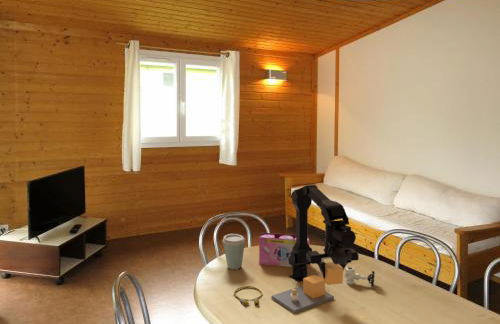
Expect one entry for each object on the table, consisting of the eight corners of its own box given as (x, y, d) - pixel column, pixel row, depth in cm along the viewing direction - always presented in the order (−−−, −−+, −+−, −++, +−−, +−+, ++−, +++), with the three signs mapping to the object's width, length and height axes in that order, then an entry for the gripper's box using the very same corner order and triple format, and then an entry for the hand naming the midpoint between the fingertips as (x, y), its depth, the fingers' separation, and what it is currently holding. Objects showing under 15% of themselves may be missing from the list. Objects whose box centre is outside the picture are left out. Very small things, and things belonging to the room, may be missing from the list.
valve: (343, 285, 167) (373, 289, 163) (343, 270, 166) (373, 274, 162) (345, 279, 173) (374, 283, 169) (346, 264, 173) (374, 268, 168)
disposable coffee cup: (249, 265, 189) (249, 235, 187) (237, 273, 180) (236, 241, 178) (231, 261, 194) (231, 231, 192) (218, 268, 185) (217, 237, 183)
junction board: (271, 298, 156) (271, 281, 155) (309, 286, 167) (310, 269, 166) (294, 313, 144) (294, 294, 143) (333, 299, 155) (334, 281, 154)
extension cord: (227, 305, 152) (227, 300, 151) (238, 287, 167) (238, 282, 167) (258, 309, 149) (257, 303, 148) (267, 290, 164) (267, 286, 163)
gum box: (310, 262, 193) (310, 235, 191) (308, 268, 185) (309, 240, 183) (261, 258, 198) (261, 232, 196) (258, 264, 191) (258, 237, 189)
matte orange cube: (321, 278, 152) (321, 263, 151) (336, 276, 153) (336, 261, 152) (327, 284, 146) (327, 269, 145) (342, 283, 147) (343, 267, 146)
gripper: (316, 246, 138) (315, 289, 140) (366, 243, 141) (364, 284, 143) (306, 236, 148) (305, 276, 151) (352, 233, 152) (351, 272, 154)
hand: (331, 277), depth 149 cm, fingers closed on matte orange cube, 6 cm apart
